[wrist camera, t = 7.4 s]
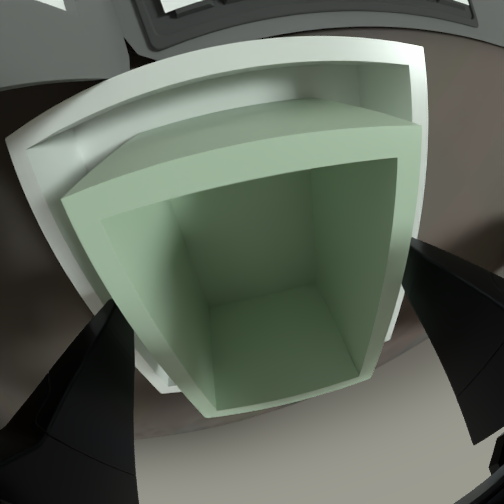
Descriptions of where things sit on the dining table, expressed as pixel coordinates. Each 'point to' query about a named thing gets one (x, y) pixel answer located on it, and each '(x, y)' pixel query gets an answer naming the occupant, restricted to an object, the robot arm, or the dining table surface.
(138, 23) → the laptop
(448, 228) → the dining table surface
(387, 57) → the big crate
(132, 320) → the small crate
